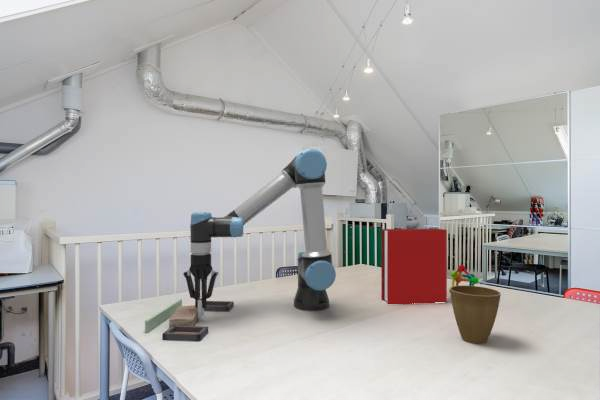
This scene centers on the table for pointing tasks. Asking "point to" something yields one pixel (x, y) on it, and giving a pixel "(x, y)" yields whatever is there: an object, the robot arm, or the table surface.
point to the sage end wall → (162, 316)
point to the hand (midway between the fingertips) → (200, 316)
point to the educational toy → (458, 279)
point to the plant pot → (475, 311)
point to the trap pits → (196, 331)
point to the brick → (184, 316)
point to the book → (414, 266)
